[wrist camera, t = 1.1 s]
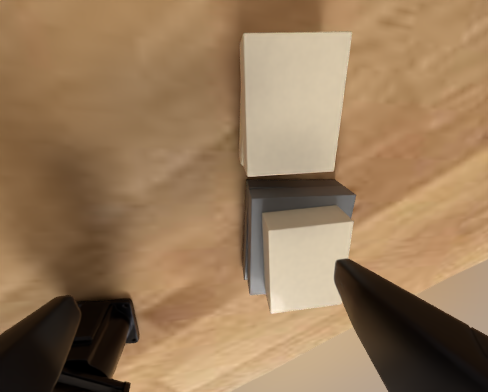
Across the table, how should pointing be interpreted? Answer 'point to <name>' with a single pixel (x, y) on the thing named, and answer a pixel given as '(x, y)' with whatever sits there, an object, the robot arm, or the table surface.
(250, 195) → the grey books
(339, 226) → the cream rectangular block
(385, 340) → the robot arm
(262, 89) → the beige block
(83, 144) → the table surface
